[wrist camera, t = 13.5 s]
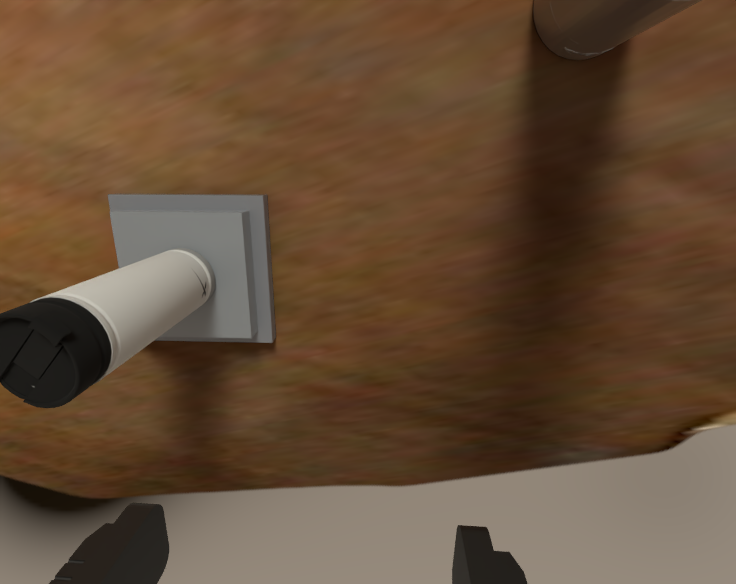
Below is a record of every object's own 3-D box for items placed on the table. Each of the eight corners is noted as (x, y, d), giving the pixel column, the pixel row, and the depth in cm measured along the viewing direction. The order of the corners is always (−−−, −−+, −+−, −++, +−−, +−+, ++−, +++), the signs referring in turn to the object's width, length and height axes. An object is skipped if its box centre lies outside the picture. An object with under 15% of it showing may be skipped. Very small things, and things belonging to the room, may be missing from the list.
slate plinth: (117, 193, 44) (91, 195, 40) (267, 194, 43) (255, 197, 40) (139, 334, 48) (118, 348, 45) (276, 337, 48) (266, 351, 44)
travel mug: (230, 274, 42) (99, 361, 23) (192, 319, 43) (39, 437, 24) (180, 231, 41) (-2, 286, 22) (143, 279, 42) (-58, 370, 23)
